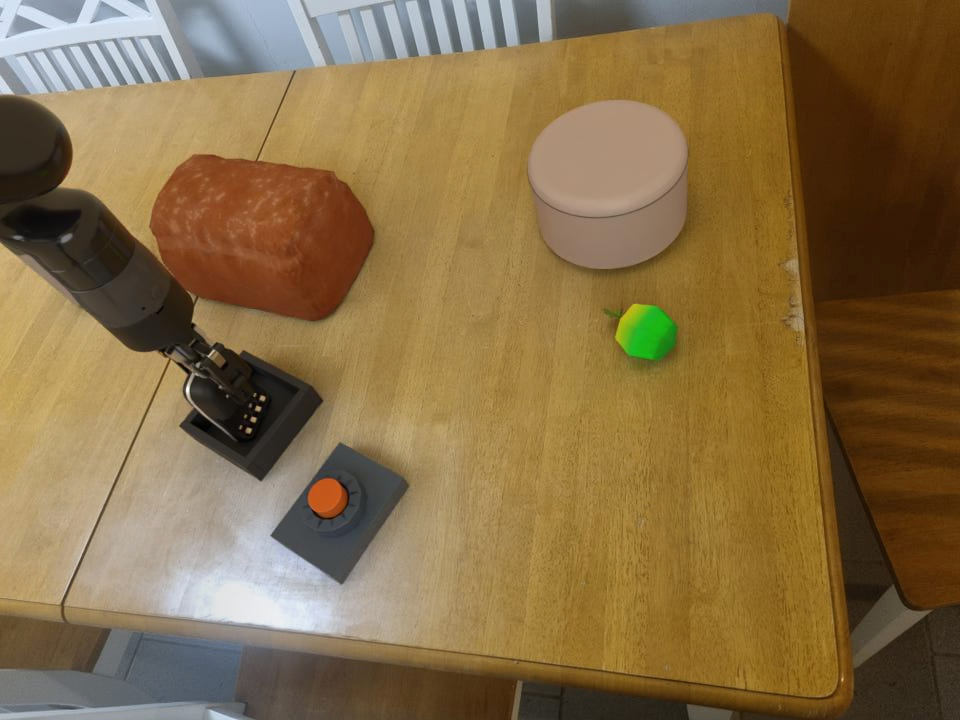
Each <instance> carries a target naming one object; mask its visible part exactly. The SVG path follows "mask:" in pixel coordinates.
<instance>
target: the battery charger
mask: <svg viewBox="0 0 960 720" xmlns="http://www.w3.org/2000/svg"><path fill="white" fill-rule="evenodd" d="M225 348H226V349H227V350H228V351H229V352H230V353H231V354H232V356H233V357H234V358H235V359H236V360H237V361H238V362H239V363H240V364H241V365H242V366H243V367H244V368H245V370H247V371H248V372H249V374H250V375H251V373H252V369H251V368H250V367H249V365H248V364H247V363H246V362H245V361H244V360H243V359H242V358H241V357H240V356H239V354H238V353H237V352H236V351H234V350H232V349H231V348H228V347H225ZM201 365H202V364H201V363H200V362H199V363H197V364H195V366H196V367H198V368H199V369H202V368H203V367H202V366H201ZM184 380H185V381H184V382H183V385H182V395H183V397H184V400H185V401H186V402H187V404H189V405H190V406H191V407H192V409H196V410H197V411H198V412H199V413H200V414H201V415H202V416H203V417H205V418H206V419H207V420H209V421H210V422H211V423H212V424H214V425H215V426H216V427H218V428H219V429H220V430H221V431H222V432H223V433H225V434H226V435H227V436H228V437H229V438H230V439H231V440H233V441H235V442H238V441H241V442H245V441H250V440H252V439H254V438H255V436H256V434H257V433H258V430H259V428H260V426H261V424H262V421H263V419H264V417H265V414H266V412H267V409H268V407H269V404H270V401H271V397H270V396H269V394H268V393H267V392H266V391H264V390H263V389H262V388H260V387H259V386H258V385H256V384H255V383H254V382H253V381H252V380H251V379H250V377H249V378H248V379H247V380H246V381H247V382H248V383H249V384H250V385H251V386H252V387H253V388H254V393H253V395H252V396H251V397H250V398H249V400H248V401H247V402H246V403H245V404H244V405H239V404H238V403H236V402H235V401H234V400H233V399H232V398H231V397H230V396H229V395H228V394H227V393H226V392H225V391H224V390H221V389H220V388H219V387H218V385H216V384H215V383H214V382H213V381H211V380H210V379H209V378H199V377H198V376H197V375H195V374H194V373H193V372H192V371H189V373H188V375H186V378H185V379H184Z"/></svg>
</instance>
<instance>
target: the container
mask: <svg viewBox="0 0 960 720" xmlns="http://www.w3.org/2000/svg"><path fill="white" fill-rule="evenodd" d="M688 143H689V142H688V141H687V137H686V135H685V133H684V131H683V128H682V127H681V126H680V124H679V123H678V122H677V120H675V119H674V118H673V117H672V116H671V115H670V114H668V113H667V112H666V111H664V110H663V109H660V108H659V107H656V106H655V105H652V104H648V103H645V102H642V101H637V100H631V99H606V100H599V101H598V100H597V101H594V102H589V103H586V104H584V105H580V106H578V107H574V108H572V109H571V110H568V111H566V112H565V113H563V114H562V115H559V116H558V117H556V119H554V120H552V121H551V122H550V123H549V124H548V125H547V126H546V127H544V129H543V130H542V131H541V132H540V133H539V135H537V137H536V139H535V140H534V142H533V143H532V146H531V148H530V151H529V155H528V158H527V163H526V164H527V165H526V176H527V181H528V183H529V186H530V189H531V194H532V199H533V203H534V208H535V211H536V217H537V221H538V225H539V230H540V233H541V236H542V238H543V240H544V242H545V244H546V245H547V246H548V247H549V249H550V250H551V251H552V252H553V253H555V254H556V255H557V256H558V257H560V258H561V259H563V260H565V261H567V262H569V263H571V264H574V265H577V266H580V267H584V268H587V269H588V268H589V269H596V270H613V269H614V270H615V269H622V268H627V267H631V266H634V265H637V264H641V263H643V262H645V261H648V260H649V259H652V258H653V257H655V256H657V255H658V254H660V253H662V252H663V251H664V250H666V248H668V247H669V246H670V245H671V244H673V242H674V241H675V240H676V238H677V237H678V236H679V234H680V233H681V232H682V230H683V227H684V226H685V223H686V220H687V213H688V177H689V175H688V172H689V171H688V169H689V166H688V165H689V156H690V155H689V153H690V152H689V150H690V149H689V144H688Z"/></svg>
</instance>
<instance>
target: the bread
mask: <svg viewBox="0 0 960 720" xmlns="http://www.w3.org/2000/svg"><path fill="white" fill-rule="evenodd" d="M148 228H149V230H150V232H151V235H153V236H154V238H155V241H156V244H157V247H158V248H157V249H158V252H159V255H160V258H161V261H162V264H163V265H164V267H165V268H166V269H167V270H168V271H169V272H170V273H171V274H172V275H173V276H174V277H175V279H176V280H177V281H178V282H179V283H180V284H181V285H182V286H183V287H184V289H185V290H186V291H187V292H188V293H191V294H193V295H195V296H196V297H198V298H201V299H205V300H211V301H216V302H221V303H226V304H229V305H235V306H240V307H244V308H250V309H253V310H254V309H255V310H260V311H263V312H269V313H274V314H277V315H280V316H282V317H288V318H293V319H297V320H298V319H299V320H305V321H310V322H314V321H317V320H322V319H325V318H328V317H329V316H330V315H331V314H332V313H333V312H334V311H335V310H336V309H337V308H338V307H339V306H340V305H341V303H342V301H343V300H344V298H345V296H347V293H348V292H349V290H350V288H351V287H352V285H353V283H354V281H355V280H356V278H357V276H358V274H359V272H360V270H361V269H362V268H363V265H364V263H365V261H366V258H367V256H368V255H369V253H370V250H371V249H372V246H373V244H374V237H375V229H374V227H373V224H372V222H371V220H370V218H369V215H368V213H367V211H366V208H365V207H364V206H363V204H362V203H361V201H360V200H359V199H358V198H357V196H356V194H355V193H354V191H353V190H352V189H351V187H350V186H349V185H348V183H347V182H345V181H343V180H341V179H339V178H338V176H337V174H336V172H335V171H334V170H328V169H322V168H314V167H300V166H295V165H290V164H286V163H277V162H276V163H275V162H270V161H265V160H250V159H246V158H226V157H222V156H219V155H216V154H207V153H205V154H204V153H203V154H201V153H198V154H196V153H194V154H192V155H190V157H188V158H187V159H186V160H184V161H183V162H182V163H180V164H179V165H178V166H176V168H175V169H174V170H173V172H172V174H171V175H170V176H169V177H168V179H167V181H165V184H164V185H163V187H162V188H161V189H160V190H159V192H158V193H157V196H156V198H155V201H154V204H153V206H152V209H151V215H150V220H149V226H148Z"/></svg>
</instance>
